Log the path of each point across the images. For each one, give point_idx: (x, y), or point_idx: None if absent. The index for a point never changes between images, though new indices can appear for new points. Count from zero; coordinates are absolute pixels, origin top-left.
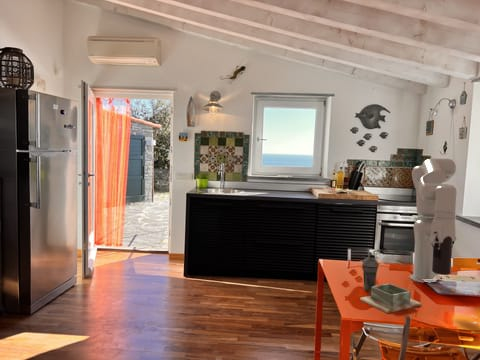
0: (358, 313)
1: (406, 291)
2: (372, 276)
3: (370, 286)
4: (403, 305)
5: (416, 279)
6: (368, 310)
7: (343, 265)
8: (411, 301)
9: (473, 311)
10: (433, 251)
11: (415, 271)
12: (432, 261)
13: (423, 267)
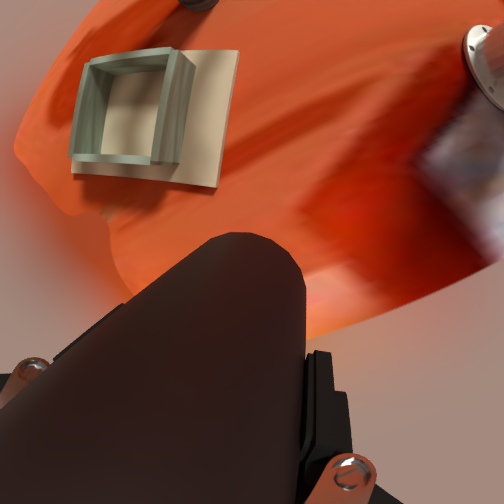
0: (32, 142)
1: (153, 145)
2: None
3: (181, 2)
4: (137, 167)
5: (467, 51)
6: (56, 136)
7: None
8: (198, 156)
9: (333, 326)
10: (82, 334)
11: (489, 34)
12: (181, 260)
13: None
